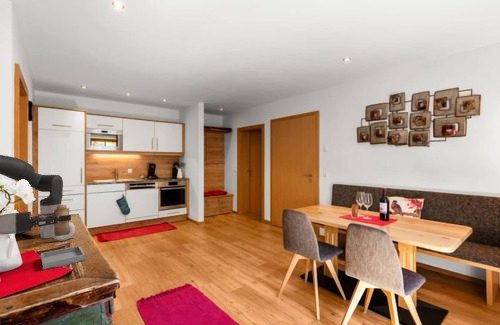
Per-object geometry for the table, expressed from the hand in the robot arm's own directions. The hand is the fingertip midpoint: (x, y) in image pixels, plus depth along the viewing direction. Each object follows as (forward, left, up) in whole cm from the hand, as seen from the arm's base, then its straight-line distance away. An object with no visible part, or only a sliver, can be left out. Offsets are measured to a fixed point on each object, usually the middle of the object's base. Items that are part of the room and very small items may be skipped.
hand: (69, 216), depth 106 cm
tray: (0, -3, -18) cm, 18 cm away
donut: (-31, 0, -18) cm, 36 cm away
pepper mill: (0, -3, -7) cm, 8 cm away
